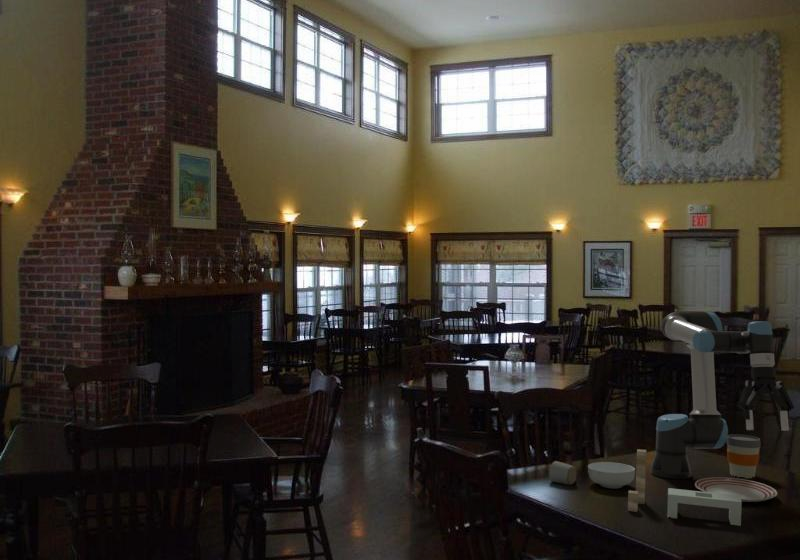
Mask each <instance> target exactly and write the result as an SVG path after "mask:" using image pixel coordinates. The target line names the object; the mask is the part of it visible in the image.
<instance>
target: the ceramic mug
mask: <svg viewBox="0 0 800 560" xmlns="http://www.w3.org/2000/svg"><path fill="white" fill-rule="evenodd" d="M577 473H578V471H577V468H576V467H575V466H573V465H571V464H567V463H564V462H561V461H557V460H555V461H553V462H552V463H551V465H550V468H549V473H548V477H549V479H550V481H551V482H553V483H557V484H562V485H567V486H571V485H573V484H574V483H575V482H576V480H577V475H578V474H577Z"/></svg>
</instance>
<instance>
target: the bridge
mask: <svg viewBox="0 0 800 560" xmlns="http://www.w3.org/2000/svg"><path fill="white" fill-rule="evenodd" d="M678 504H685V505H693V506H701V507H702V506H703V507H708V508H709V507H712V508H719V509H727V510H728V520H729V524H730V525H731V526H732V525H733V526H738V527H739V526H740V527H741V526H742V504H743V503H742V502H741V499H740V496H739V495H729V494H719V493H710V492H703V491H701V490H700V491H698V490H689V489H680V488H679V489H678V488H671V487H668V488H667V510H666V511H667V515H666V516H667V517H666V518H669V517H671V518H670V519H678V506H679V505H678Z"/></svg>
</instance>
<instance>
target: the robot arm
mask: <svg viewBox="0 0 800 560" xmlns="http://www.w3.org/2000/svg"><path fill="white" fill-rule="evenodd" d="M722 325H723V324H722V321H721V319H720V318H719V316H718V315H717V314H716V313H714V312H709V311H673V312H670V313H668V314H667V315H666V316H665V317H664V318H663V319H662V321H661V324H660V328H661V329H660V330H661V333H662V334H663V335H664V337H665V338H668V339H670V340H671V341H681V342H683V343H686V344H685V345H686V347H687V348H689V350H690V365H691V385H692V386H691V387H692V388H691V389H692V406H693V407H692V410H691V412H689V417H688V415H686V414H683V413H668V414H664V415H661V416H659V417H658V418H657V420H656V427H655V430H656V434H655V436H656V437H655V455H654V456H653V460H652V463H651V465H650V473H651V475H652V476H656V477H659V478H662V479H663V478H665V479H671V480H672V479H673V480H684V479H685V480H687V479H690V478H691V477H692V469H691V466H690V462H689V459H688V449H708V450H715V449H720V448H722V447H724V445H725V443H726V442H727V436H728V435H729V428H728V424H727V421H726V420H725V419H723V418H722V414H721V413H720V412H719V411H718V410H717V397H716V395H717V394H716V377H715V375H716V374H715V358H714V357H715V355H714V353H734V354H735V353H736V354H739V355H743V354H744V355H747V354H749V359H750V366H751V369H750V372H751V378H752V380H751V379H749V380H748V379H747V380H745V381H743V382H744V385H743V390H742V392H741V395H740V398H739V401H738V404H737V408H738V409H740V410H741V411H743V420H745V428H746V431H754V429H755V428H754V427H755V426H754V414H753V409H751V408H752V406H753V405H754V403H755V402H756V401H757V399H758V397H759V396H760V395H769V396H770V397H771V398H772V400H773V401H774V402H775V403H776V404H777V405H778V407H779V408H780V411H779V414H780V415H779V416H780V417H779V418H780V428H781V429H780V430H781V431H785V432H787V431H790V430H789V429H790V427H789V421H790V411H792V410H794V409H795V406H794V404H793V402H792V400H791V398H790V395H789V393H788V392H787V390H786V387H785V383H784V381H776V376H777V375H776V368H775V367H774V366H775V364H776V362H775V352H774V349H775V347H774V337H773V334H774V333H773V330H772V329H773V328H772V327H773V326H772V324H771V322H769V321H766V320H765V321H763V320H760V321H752V322H751V321H750V322H749V323H748V324H747V330H746V331H745V330H744V331H739V330H738V331H737V330H736V331H733V330H731V331H730V330H729V331H727V330H725V331H723V330H724V329H723V326H722ZM752 388H753V390H752Z"/></svg>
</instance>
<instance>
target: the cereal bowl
mask: <svg viewBox="0 0 800 560" xmlns="http://www.w3.org/2000/svg"><path fill="white" fill-rule="evenodd" d="M587 470H588V471H587V473H588V476H589V478H590V480H592V481H593V482H595V483H596V484H598V485H600V487H603V488H606V489H621V488H623V486H627V485H629V484H631V483H632V482H633V481H634V479H635V477H636V467H634V466H632V465H629V464H625V463H620V462H611V461H598V462H591V463H590V464H588V465H587Z"/></svg>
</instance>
